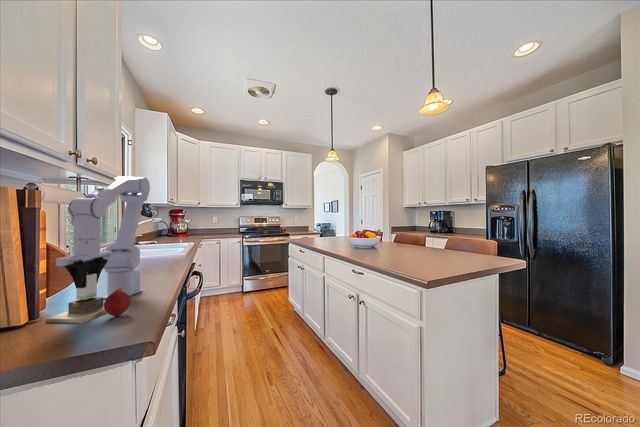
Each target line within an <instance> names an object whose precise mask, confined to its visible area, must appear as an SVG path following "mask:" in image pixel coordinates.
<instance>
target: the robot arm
mask: <svg viewBox="0 0 640 427" xmlns="http://www.w3.org/2000/svg"><path fill="white" fill-rule="evenodd" d="M150 190H151V186H150V181H149V179H148V178H147V177H146V176H137V177H136V176H121V175H118V176H116V177H114V178H113V182H112V183H111V184H110V185H108V186H107V187H105V186H97V187H96V188H95V189H94V191H92V192H89V193H87V194H86V195H85V196H84V197H76V198H74V199H72V200H70V201H69V204H68V206H67V213H68V214H69V216H70V222H71V224H73V236H72V238H73V240H72V242H73V249H72V252H73V254H71V255H68V256H67V255H66V256H63V257H58V258H56V260H55V266H56V267H64V268H65V269H66V270H67V272H68V273H69V274H70V276H71V279H72V280H73V284H74V286H75V289H76V288H85V285H86V276H87V273H97V283H98V282H99V279H100V275H101V273H102V272H103V270H104V272H105V273H107V275H106V276H107V277H106V279H107V282H106V283H107V284H106V286H107V287H106V289H107V290H106V294H105V295H102V296H101V297H103V300H106V299H107V298H108V296H109V295H111V294H112V293H113V292H114V291H115V290H116V289H117V288H121V291H123V292H125V293H127V294H128V295H129V297H130V296H133V295H135V294H138V293H140V292H143V289H141V272H140V270H139V269H138V268H137V267H138V266H139V264H140V262H141V261H140V260H141V256H140V255H141V254H140V253H141V249H140V248H139V247H138V246H137V245H136V244H135V243H134V242H135V237H136V233H137V229H138V226H139V222H140V217H141V214H142V209H143V206H144V202H147V201H148V198H149V195H150ZM117 196H118V197H119V198H120V200H121V201H122V202H125V203H126V205H125V208H124V211H123V215H122V219H121V222H120V226H119V229H118V233H117V237H116V240H115V242H113V243H112V244H110V245H108V246H107V247H106V248H105V250H104V251H103V250H102V251H101V226H102V225H101V223H102V221H101V219H102V217H104V216H105V214H106V212H107V209H108V208H109V207H110V206H111V205H112V204H114V203H115V202H116V201H117Z"/></svg>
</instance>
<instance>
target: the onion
mask: <svg viewBox="0 0 640 427" xmlns="http://www.w3.org/2000/svg"><path fill="white" fill-rule="evenodd" d="M104 300H105V301H104V302H103V303H104V309H105V311H106V312H107V313H106V314H109V316H113V317H120V316H121V315H123V313H125V312H126V311H127V310H129V307H130V306H131V301H132V300H131V297H130V296H129V295H128V294H127V293H125V292H123V291H121V288H117V289H116V290H115V291H114V292H113V293H112V294H111V295H109V296H108V298H107V299H104Z"/></svg>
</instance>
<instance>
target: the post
mask: <svg viewBox="0 0 640 427" xmlns="http://www.w3.org/2000/svg"><path fill="white" fill-rule="evenodd" d="M97 286H98V282H97V273H87V276H86V285H85V288H76V287H75V290H76V294H75V295H76V296H75V298H76V300H79V299H84V300H87V299H89V298H92V297H97V292H98V290H97V288H98V287H97Z"/></svg>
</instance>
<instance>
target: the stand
mask: <svg viewBox="0 0 640 427" xmlns="http://www.w3.org/2000/svg"><path fill="white" fill-rule="evenodd" d="M104 303H105V302H104V299H103V297H102V296H95V297H92V298H89V299H87V300H84V299H76V300H73V301H70V302H68V304H67V305H68V310H65V311H63V312H61V313H57V314H54V315H52V316H49V317H47V318H46V319H45V322H46V323H52V324H53V323H60V324H63V323H64V324H83V323H85V322H88V321H90V320H93V319H95V318H97V317H100V316H102V315H104V314H108V313H107V312H106V311H105V309H104Z"/></svg>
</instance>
